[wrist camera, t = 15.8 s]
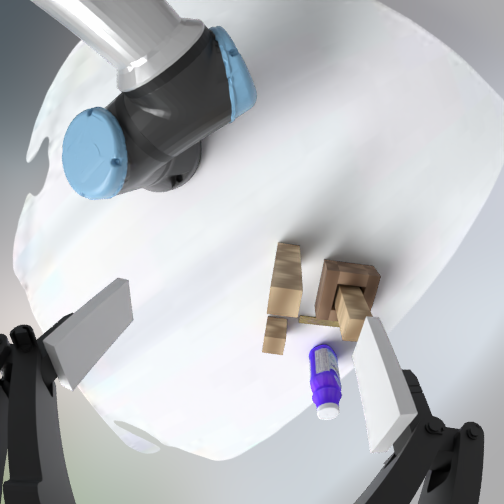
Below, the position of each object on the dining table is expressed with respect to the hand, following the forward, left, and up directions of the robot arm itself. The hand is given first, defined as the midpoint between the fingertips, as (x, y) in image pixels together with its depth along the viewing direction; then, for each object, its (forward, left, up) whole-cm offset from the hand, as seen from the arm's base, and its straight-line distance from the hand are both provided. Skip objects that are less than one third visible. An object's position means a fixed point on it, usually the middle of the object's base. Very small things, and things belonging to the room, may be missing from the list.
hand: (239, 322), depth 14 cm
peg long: (+3, -9, -37) cm, 38 cm away
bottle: (+15, -31, -37) cm, 51 cm away
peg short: (+3, -25, -37) cm, 45 cm away
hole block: (+15, -14, -37) cm, 42 cm away
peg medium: (+15, -14, -37) cm, 42 cm away
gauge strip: (+15, -22, -37) cm, 46 cm away
